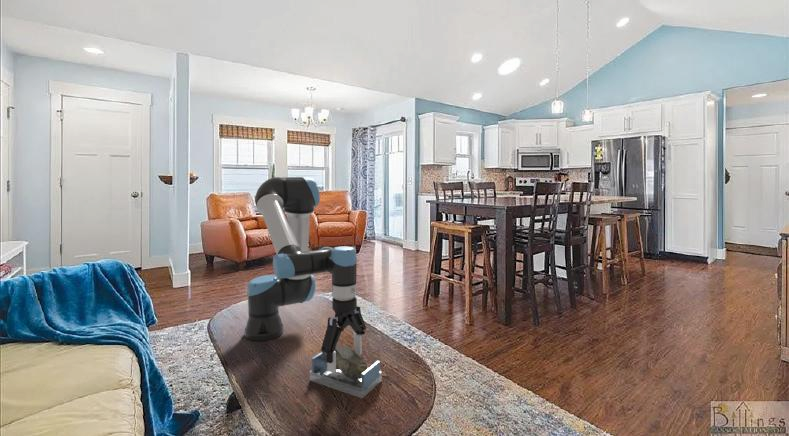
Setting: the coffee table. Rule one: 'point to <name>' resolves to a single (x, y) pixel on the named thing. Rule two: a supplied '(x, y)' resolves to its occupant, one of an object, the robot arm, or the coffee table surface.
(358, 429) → the coffee table surface
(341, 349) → the rock
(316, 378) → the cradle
